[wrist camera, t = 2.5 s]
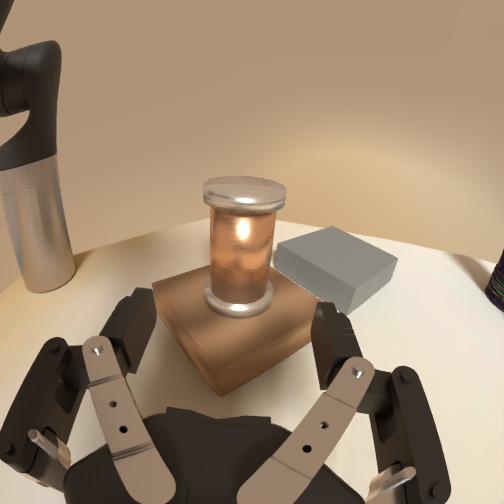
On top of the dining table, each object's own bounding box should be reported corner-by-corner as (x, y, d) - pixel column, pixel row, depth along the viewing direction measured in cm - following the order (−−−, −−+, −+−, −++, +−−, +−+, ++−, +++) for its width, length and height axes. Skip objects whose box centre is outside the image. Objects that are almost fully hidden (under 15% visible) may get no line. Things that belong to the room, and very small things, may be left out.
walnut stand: (156, 312, 29) (151, 283, 27) (247, 278, 37) (249, 252, 35) (220, 396, 20) (219, 370, 18) (321, 334, 28) (330, 306, 26)
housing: (192, 289, 27) (189, 180, 22) (244, 271, 31) (251, 173, 25) (229, 328, 22) (235, 202, 17) (285, 301, 26) (303, 191, 21)
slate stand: (274, 268, 39) (277, 243, 38) (327, 246, 47) (332, 226, 45) (346, 315, 31) (355, 289, 29) (390, 280, 38) (398, 258, 36)
